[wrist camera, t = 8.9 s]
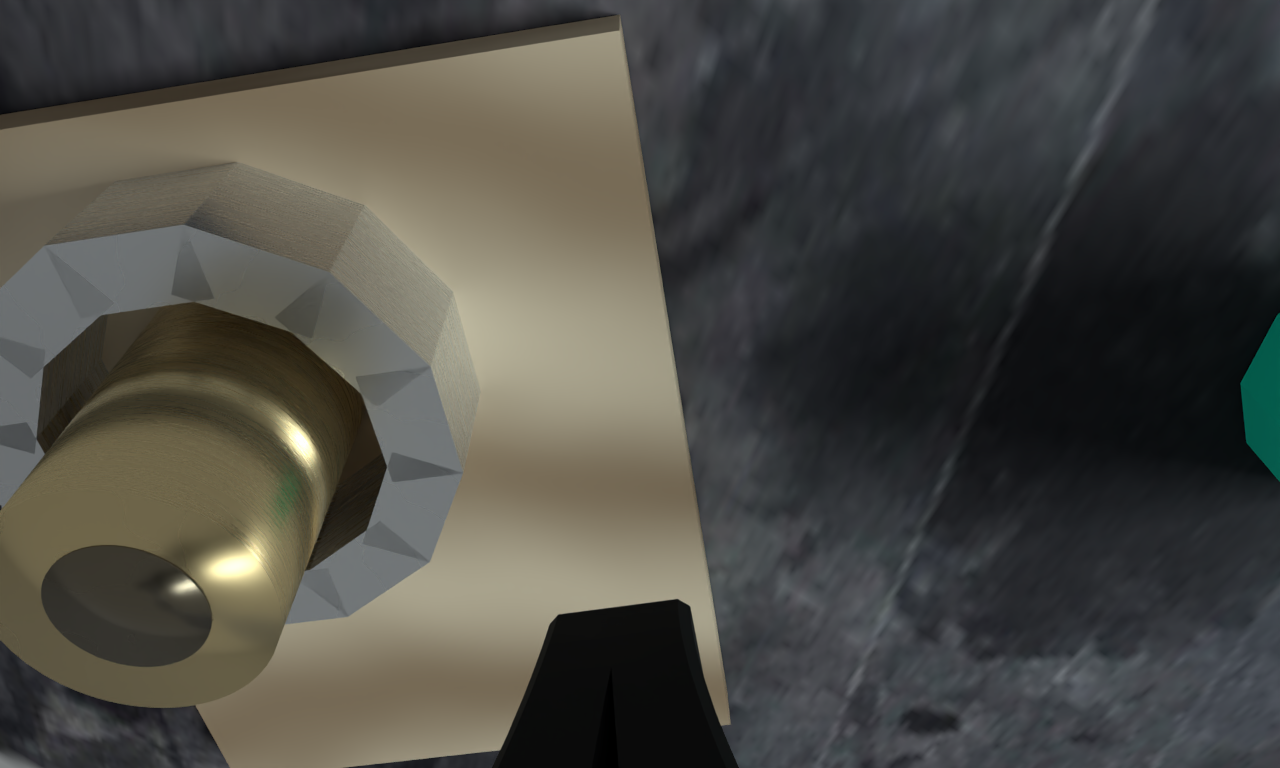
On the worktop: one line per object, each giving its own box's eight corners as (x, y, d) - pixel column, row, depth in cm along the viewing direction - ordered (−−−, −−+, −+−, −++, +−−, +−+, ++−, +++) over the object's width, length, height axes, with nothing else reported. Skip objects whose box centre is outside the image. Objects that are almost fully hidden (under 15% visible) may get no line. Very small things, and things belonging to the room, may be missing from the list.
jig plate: (727, 690, 25) (730, 724, 24) (249, 745, 26) (237, 779, 25) (620, 14, 17) (619, 30, 16) (-83, 127, 18) (-118, 148, 17)
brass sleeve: (397, 444, 20) (319, 692, 15) (198, 473, 20) (55, 726, 15) (329, 257, 18) (211, 471, 13) (108, 293, 18) (-92, 516, 13)
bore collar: (514, 509, 21) (501, 598, 19) (141, 557, 22) (89, 648, 19) (409, 135, 17) (378, 195, 15) (-49, 206, 17) (-142, 273, 15)
